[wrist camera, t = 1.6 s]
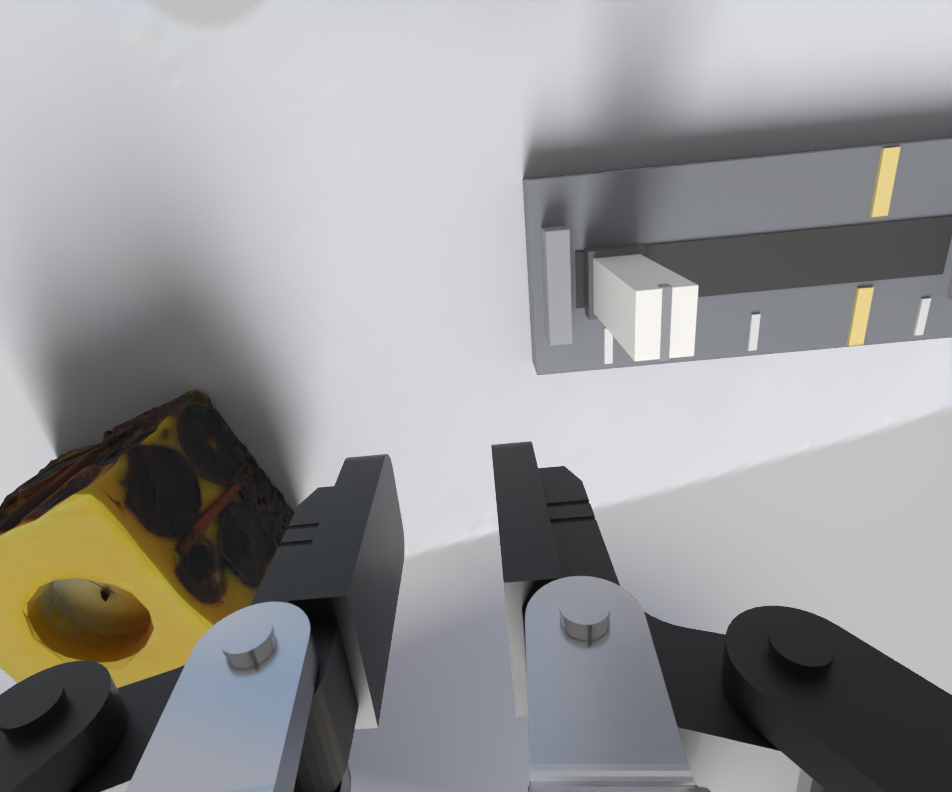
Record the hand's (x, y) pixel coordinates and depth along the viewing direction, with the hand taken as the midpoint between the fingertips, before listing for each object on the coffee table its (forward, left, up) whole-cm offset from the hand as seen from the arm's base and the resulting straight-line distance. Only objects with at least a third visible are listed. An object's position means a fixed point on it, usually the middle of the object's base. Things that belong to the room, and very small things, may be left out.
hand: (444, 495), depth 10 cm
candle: (+10, -17, -19) cm, 28 cm away
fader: (0, +7, -17) cm, 18 cm away
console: (0, +14, -19) cm, 24 cm away
